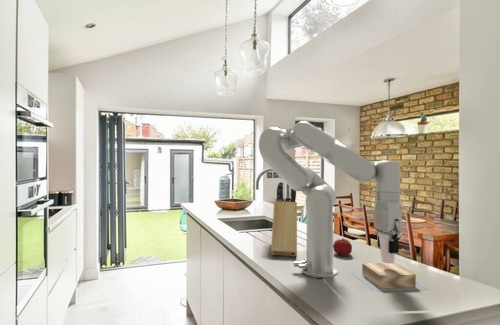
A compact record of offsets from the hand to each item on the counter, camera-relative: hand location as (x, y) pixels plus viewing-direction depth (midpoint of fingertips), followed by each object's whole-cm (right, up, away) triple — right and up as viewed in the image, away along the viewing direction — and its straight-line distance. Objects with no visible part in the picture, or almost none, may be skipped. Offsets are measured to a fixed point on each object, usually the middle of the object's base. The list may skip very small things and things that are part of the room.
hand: (387, 249), depth 104 cm
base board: (0, -11, 0) cm, 11 cm away
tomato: (-6, -12, +33) cm, 35 cm away
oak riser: (0, -10, 0) cm, 10 cm away
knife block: (-30, -12, +43) cm, 54 cm away
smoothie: (0, -4, 0) cm, 4 cm away
